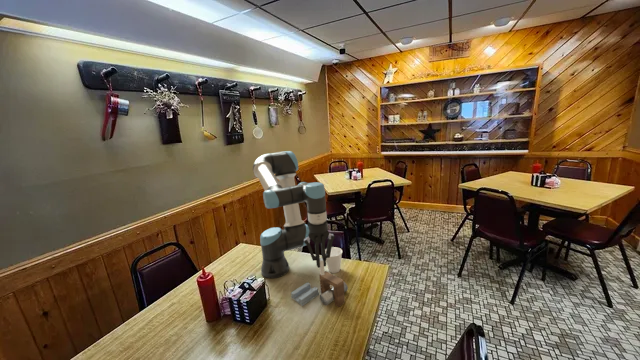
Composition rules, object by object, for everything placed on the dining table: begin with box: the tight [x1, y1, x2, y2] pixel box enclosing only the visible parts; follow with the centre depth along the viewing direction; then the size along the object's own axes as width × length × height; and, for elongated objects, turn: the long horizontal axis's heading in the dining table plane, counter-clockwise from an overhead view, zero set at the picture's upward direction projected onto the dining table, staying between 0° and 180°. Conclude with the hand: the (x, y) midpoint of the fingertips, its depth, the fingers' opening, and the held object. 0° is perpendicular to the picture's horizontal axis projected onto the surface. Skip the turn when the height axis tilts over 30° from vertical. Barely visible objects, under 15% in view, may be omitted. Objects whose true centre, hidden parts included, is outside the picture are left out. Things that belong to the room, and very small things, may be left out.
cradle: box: [290, 282, 320, 307], centre depth 117 cm, size 8×10×3 cm
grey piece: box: [319, 281, 349, 307], centre depth 115 cm, size 13×5×5 cm, turn 133°
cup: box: [325, 246, 343, 274], centre depth 135 cm, size 10×10×11 cm
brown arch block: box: [319, 270, 346, 308], centre depth 113 cm, size 11×4×11 cm, turn 44°
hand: (322, 273), depth 107 cm, fingers closed
